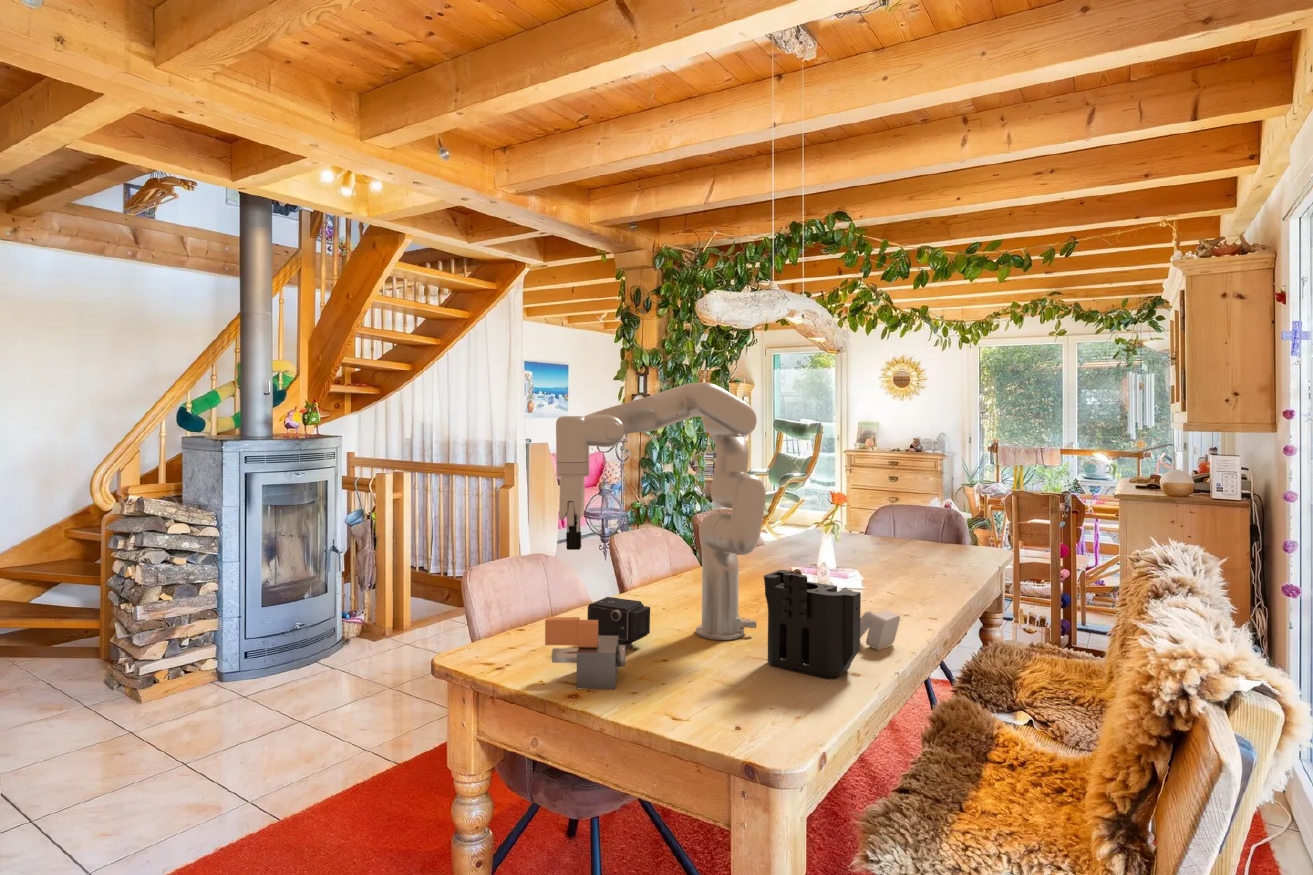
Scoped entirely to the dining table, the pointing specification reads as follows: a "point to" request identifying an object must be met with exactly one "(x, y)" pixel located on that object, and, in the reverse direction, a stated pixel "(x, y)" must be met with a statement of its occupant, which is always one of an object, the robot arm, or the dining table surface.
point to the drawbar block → (598, 664)
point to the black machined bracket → (811, 625)
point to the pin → (571, 655)
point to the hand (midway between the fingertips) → (573, 548)
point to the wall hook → (879, 628)
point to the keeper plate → (571, 631)
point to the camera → (621, 619)
